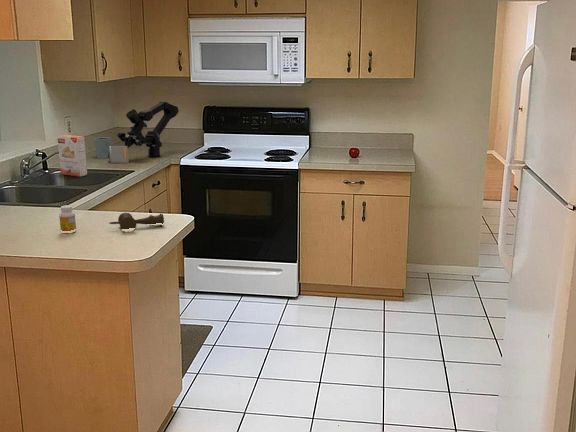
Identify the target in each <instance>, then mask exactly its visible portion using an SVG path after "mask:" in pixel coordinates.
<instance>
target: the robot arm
mask: <svg viewBox="0 0 576 432" xmlns="http://www.w3.org/2000/svg"><path fill="white" fill-rule="evenodd" d="M162 111H163V115H162V116H161V118H160V120H159V121H158V123H156V125H155V127H154V128H153V130H148V131H147V132H146V134H145V135H144V134H143V132H142V131H143V130H144V128H148V125H147V124H148V123H147V122H150V121H151V120H152V119H153V118H154V116H155V115H157V114H159V113H161V112H162ZM178 114H179V108H178V106H176V105H174V104H172V103H169V102H168V101H159V103H157V104H156V105H153V106H152V107H150V108H149V109H144V110H140V111H139V112H137V110H136V109H134V108H133V109H131V110H129V111H128V112H127V113H126V114H125V117H126V119H128V121H129V122H130V123H131V124H133V126H131V127H130V131H127V133H125V132H118V133H117V137H118V138H119V140H121V142H123V143H124V146H128V149H129V148H130V147H132V146H133V145H134V146H136V147H138V146H139V147H141V146H142V145H145V146H146V147H147V148H148V149H147V156H148V157H149V158H161V149H160V148H161V147H162V146H163V143H162V142H161V140H160V139H161V134H162V132H163V131H164V130H165V128H166V127H167V125H168V124H169V122H170V120H172V119H173V118H175V117H177V116H178Z"/></svg>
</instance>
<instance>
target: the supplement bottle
mask: <svg viewBox="0 0 576 432" xmlns="http://www.w3.org/2000/svg"><path fill="white" fill-rule="evenodd" d="M60 211H61V212H59V214H58V215H59V227H60V231H61V230H62V231H71V230H74V229H76V230H77V223H76V213H75V212H74V211H73V206H72V205H69V204H68V205H67V204H65V205H61V206H60Z"/></svg>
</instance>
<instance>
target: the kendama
mask: <svg viewBox="0 0 576 432" xmlns="http://www.w3.org/2000/svg"><path fill="white" fill-rule="evenodd" d="M117 219H118V220H117V221H110V222H108V224H109V225H119V227H120V230H121V229H129V228H135V229H136V228H137V224H138V225H147V224H156V223H162V224H163V223H164V224H165V218H164V214H163V213H160V214H157V215H152V214H150V215H149V216H148V217H141V218H137V219H135V218H134V217H133V215H132V214H131V213H129V212H122V213H121V214H119V215H118V217H117Z"/></svg>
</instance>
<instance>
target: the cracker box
mask: <svg viewBox="0 0 576 432" xmlns="http://www.w3.org/2000/svg"><path fill="white" fill-rule="evenodd" d="M85 140H86V139H85V136H81V135H79V136H78V135H71V134H70V135H69V134H62V135H57V147H58V155H59V157H58V158H59V168H60V175H64V176H70V177H79V178H82V177H83V176H84V177H85V176H88V165H87V154H86V141H85Z"/></svg>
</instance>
